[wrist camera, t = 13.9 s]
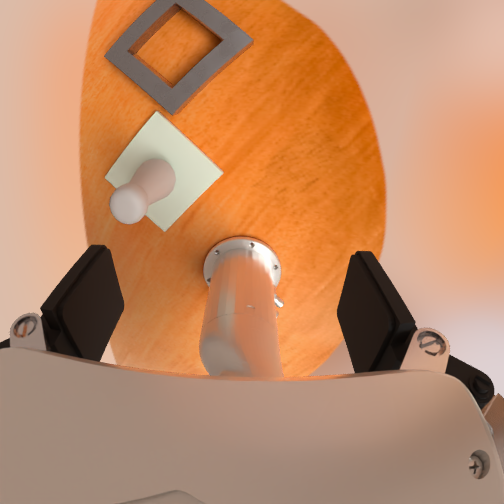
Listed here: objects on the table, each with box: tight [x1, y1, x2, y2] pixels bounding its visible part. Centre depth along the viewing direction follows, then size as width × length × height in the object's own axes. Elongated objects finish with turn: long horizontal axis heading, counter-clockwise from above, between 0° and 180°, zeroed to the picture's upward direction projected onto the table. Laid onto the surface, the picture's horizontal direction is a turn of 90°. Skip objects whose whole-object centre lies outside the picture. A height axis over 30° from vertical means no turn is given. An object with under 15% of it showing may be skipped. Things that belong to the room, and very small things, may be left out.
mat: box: [105, 111, 224, 232], centre depth 38 cm, size 13×13×1 cm
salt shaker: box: [109, 159, 176, 224], centre depth 32 cm, size 6×6×13 cm
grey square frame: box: [104, 0, 253, 115], centre depth 28 cm, size 14×14×3 cm
